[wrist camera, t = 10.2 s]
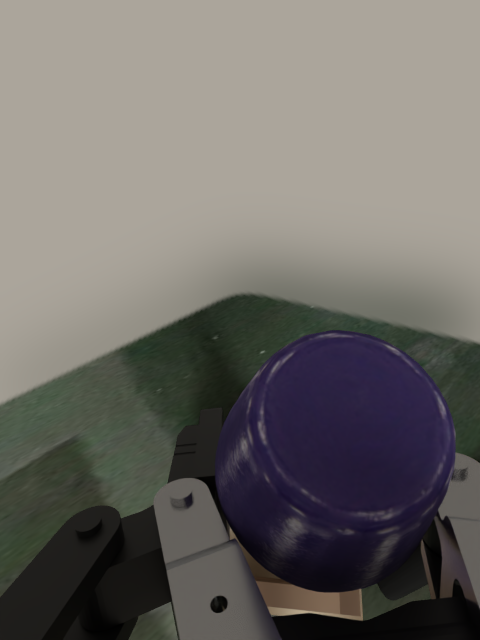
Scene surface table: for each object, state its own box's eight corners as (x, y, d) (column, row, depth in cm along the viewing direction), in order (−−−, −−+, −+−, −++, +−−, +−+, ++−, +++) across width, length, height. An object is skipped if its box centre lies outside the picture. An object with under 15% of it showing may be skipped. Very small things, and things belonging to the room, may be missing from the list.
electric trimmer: (353, 554, 28) (363, 557, 25) (513, 457, 31) (538, 450, 28) (384, 611, 26) (398, 621, 24) (551, 503, 29) (582, 500, 26)
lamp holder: (347, 440, 32) (360, 426, 28) (357, 620, 26) (376, 635, 22) (206, 429, 32) (198, 415, 29) (184, 601, 27) (172, 612, 23)
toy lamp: (222, 537, 19) (129, 526, 5) (255, 448, 21) (260, 251, 7) (314, 580, 18) (562, 738, 4) (339, 482, 20) (556, 335, 6)
